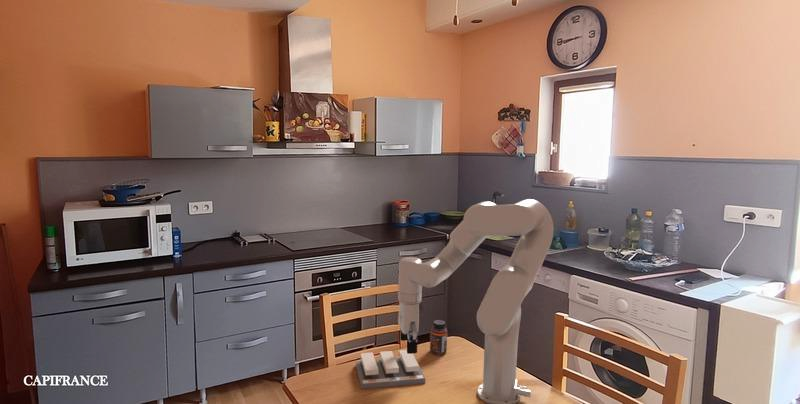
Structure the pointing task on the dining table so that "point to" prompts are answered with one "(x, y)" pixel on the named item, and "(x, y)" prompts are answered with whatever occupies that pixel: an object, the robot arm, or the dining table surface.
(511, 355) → the robot arm
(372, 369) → the switch
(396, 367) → the middle switch
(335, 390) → the dining table surface
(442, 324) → the supplement bottle
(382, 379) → the switch board
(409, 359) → the switch
